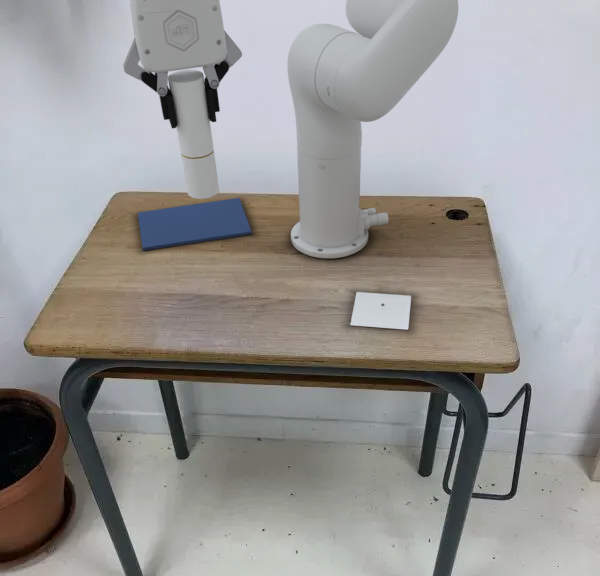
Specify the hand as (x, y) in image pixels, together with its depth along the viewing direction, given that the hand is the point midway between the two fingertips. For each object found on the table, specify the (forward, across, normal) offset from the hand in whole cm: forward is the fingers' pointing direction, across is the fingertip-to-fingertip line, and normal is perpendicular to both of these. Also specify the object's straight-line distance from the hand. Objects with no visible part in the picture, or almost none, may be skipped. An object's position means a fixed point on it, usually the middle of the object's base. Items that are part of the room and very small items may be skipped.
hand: (192, 119), depth 87 cm
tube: (+10, 0, 0) cm, 10 cm away
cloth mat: (+25, -1, +19) cm, 31 cm away
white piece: (+25, +21, -14) cm, 36 cm away
